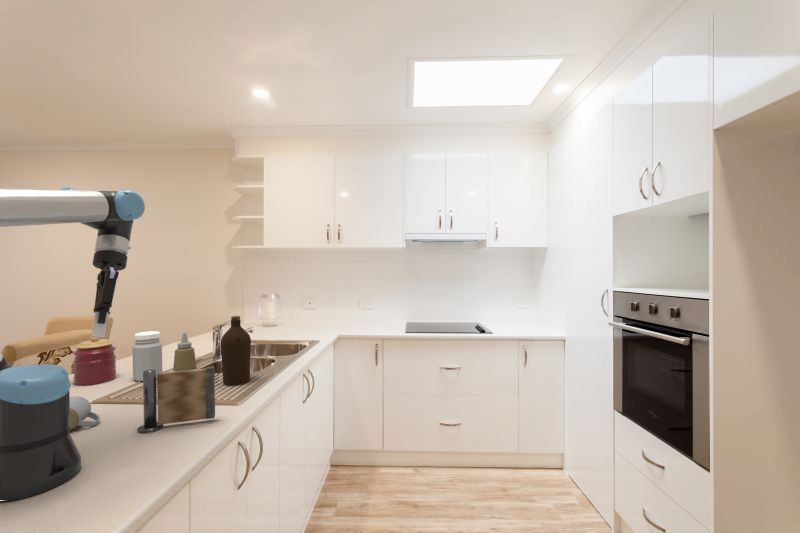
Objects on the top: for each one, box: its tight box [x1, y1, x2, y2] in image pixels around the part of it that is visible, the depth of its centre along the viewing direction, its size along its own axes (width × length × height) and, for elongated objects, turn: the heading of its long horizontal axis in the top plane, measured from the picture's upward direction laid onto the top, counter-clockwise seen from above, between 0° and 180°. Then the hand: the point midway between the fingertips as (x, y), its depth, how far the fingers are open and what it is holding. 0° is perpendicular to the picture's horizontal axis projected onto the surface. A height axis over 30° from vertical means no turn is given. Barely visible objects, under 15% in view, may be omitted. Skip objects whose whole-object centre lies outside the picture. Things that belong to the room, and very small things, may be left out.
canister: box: [72, 336, 117, 386], centre depth 146 cm, size 13×13×18 cm
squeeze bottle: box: [172, 332, 198, 371], centre depth 147 cm, size 8×8×18 cm
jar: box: [132, 330, 163, 383], centre depth 148 cm, size 10×10×18 cm
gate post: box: [136, 369, 164, 434], centre depth 103 cm, size 6×6×16 cm
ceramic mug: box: [70, 395, 101, 431], centre depth 105 cm, size 11×8×8 cm
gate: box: [156, 365, 216, 425], centre depth 106 cm, size 14×2×14 cm, turn 108°
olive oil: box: [220, 315, 252, 387], centre depth 143 cm, size 11×11×25 cm
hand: (97, 336), depth 98 cm, fingers closed
